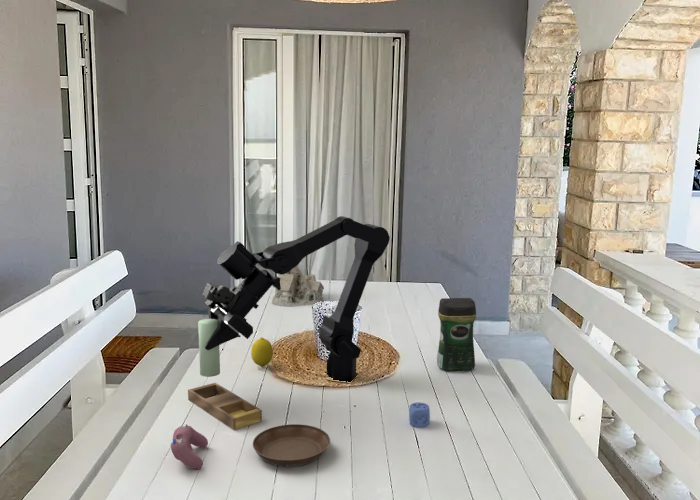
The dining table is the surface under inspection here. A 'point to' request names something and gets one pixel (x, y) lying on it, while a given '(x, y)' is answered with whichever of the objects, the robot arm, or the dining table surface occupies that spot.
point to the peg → (208, 357)
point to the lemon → (261, 352)
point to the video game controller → (188, 446)
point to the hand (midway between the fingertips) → (203, 345)
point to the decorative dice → (419, 414)
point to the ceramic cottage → (297, 289)
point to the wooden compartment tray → (225, 406)
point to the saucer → (291, 444)
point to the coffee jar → (456, 334)
